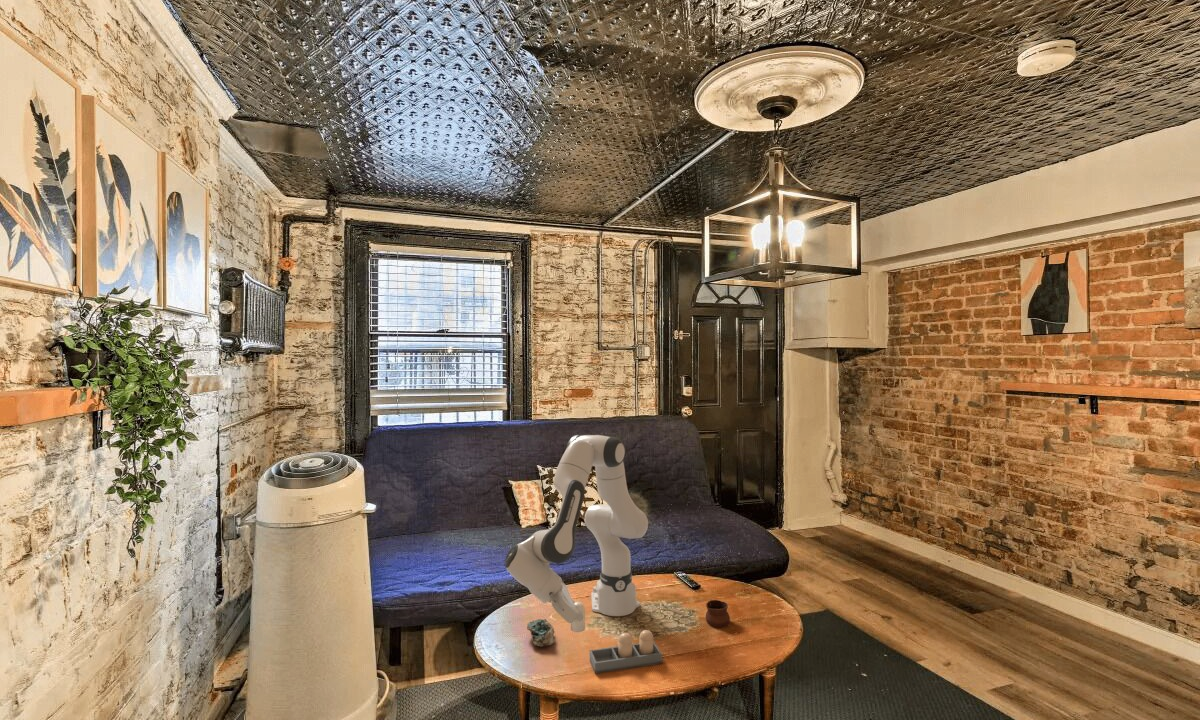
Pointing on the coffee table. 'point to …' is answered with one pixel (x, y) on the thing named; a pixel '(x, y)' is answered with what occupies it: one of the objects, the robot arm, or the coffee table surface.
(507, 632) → the coffee table surface
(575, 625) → the cream round-topped peg
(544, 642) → the mineral specimen
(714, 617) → the ceramic pot
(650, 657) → the carton
